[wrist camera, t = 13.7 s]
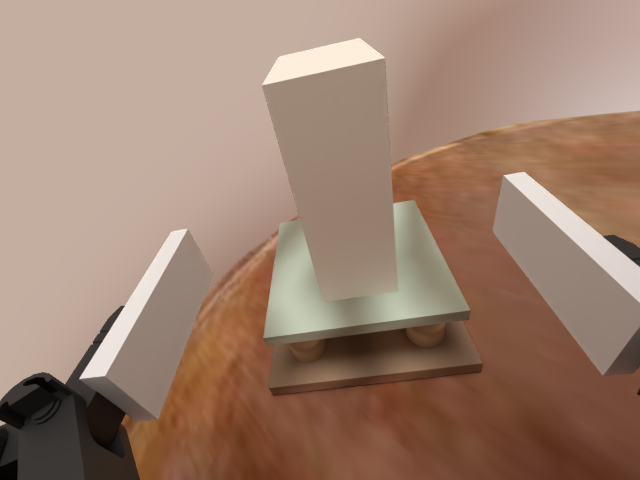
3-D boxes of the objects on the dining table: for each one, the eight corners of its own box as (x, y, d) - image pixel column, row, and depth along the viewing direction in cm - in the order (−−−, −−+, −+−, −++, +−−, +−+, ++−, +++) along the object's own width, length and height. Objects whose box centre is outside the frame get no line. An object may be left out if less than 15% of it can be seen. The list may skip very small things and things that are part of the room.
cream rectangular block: (377, 221, 29) (359, 38, 20) (397, 291, 22) (385, 58, 13) (320, 230, 30) (278, 56, 21) (323, 302, 23) (261, 85, 14)
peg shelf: (420, 239, 35) (421, 193, 32) (480, 371, 23) (493, 320, 19) (286, 261, 37) (271, 219, 33) (273, 395, 24) (247, 353, 21)
